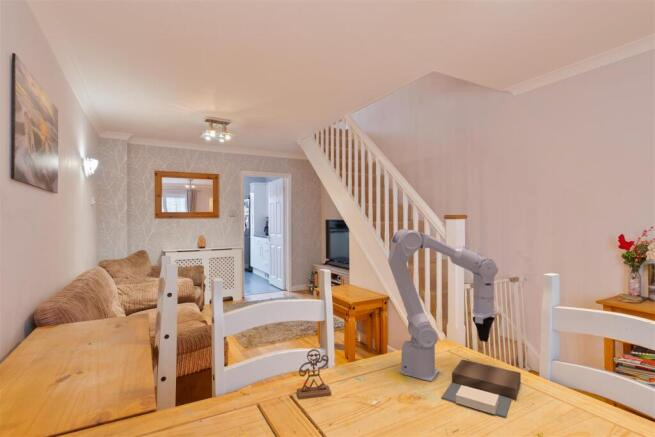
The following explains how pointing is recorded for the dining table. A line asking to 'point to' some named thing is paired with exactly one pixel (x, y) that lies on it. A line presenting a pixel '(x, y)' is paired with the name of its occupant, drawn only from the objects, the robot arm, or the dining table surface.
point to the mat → (451, 396)
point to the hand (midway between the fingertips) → (483, 340)
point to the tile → (477, 399)
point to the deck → (487, 378)
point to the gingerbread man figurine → (313, 391)
